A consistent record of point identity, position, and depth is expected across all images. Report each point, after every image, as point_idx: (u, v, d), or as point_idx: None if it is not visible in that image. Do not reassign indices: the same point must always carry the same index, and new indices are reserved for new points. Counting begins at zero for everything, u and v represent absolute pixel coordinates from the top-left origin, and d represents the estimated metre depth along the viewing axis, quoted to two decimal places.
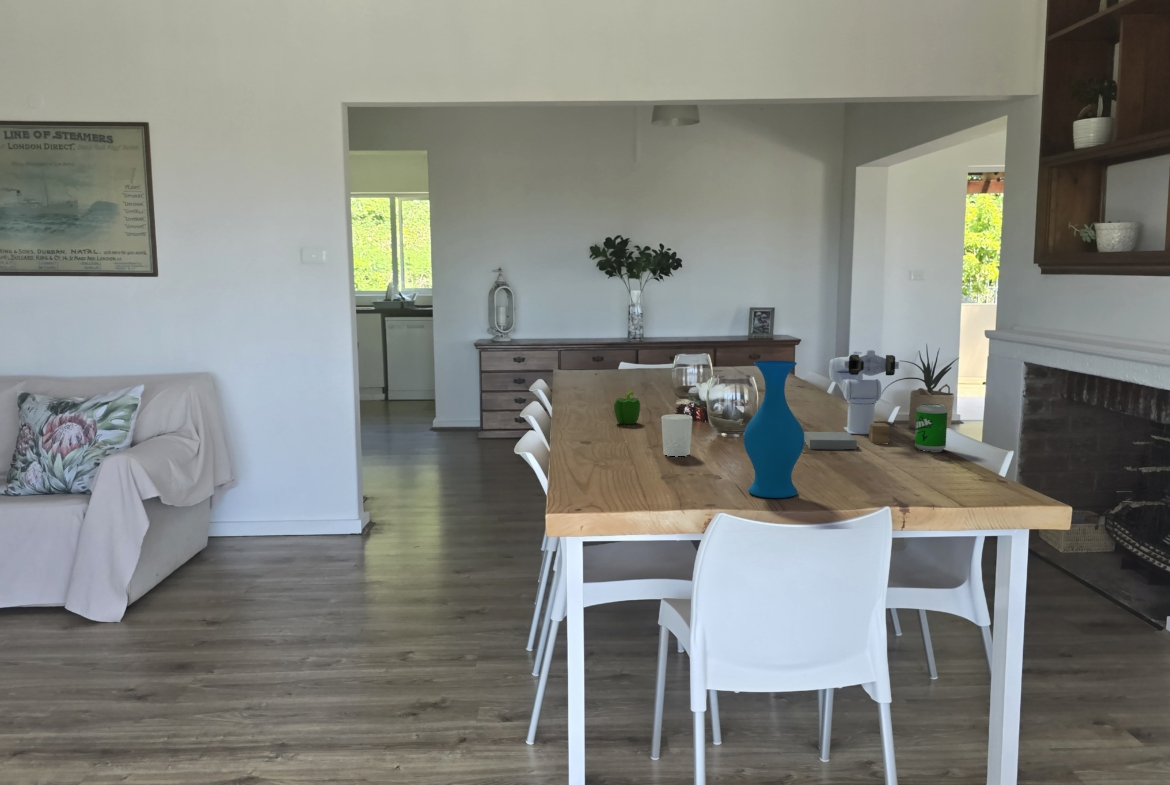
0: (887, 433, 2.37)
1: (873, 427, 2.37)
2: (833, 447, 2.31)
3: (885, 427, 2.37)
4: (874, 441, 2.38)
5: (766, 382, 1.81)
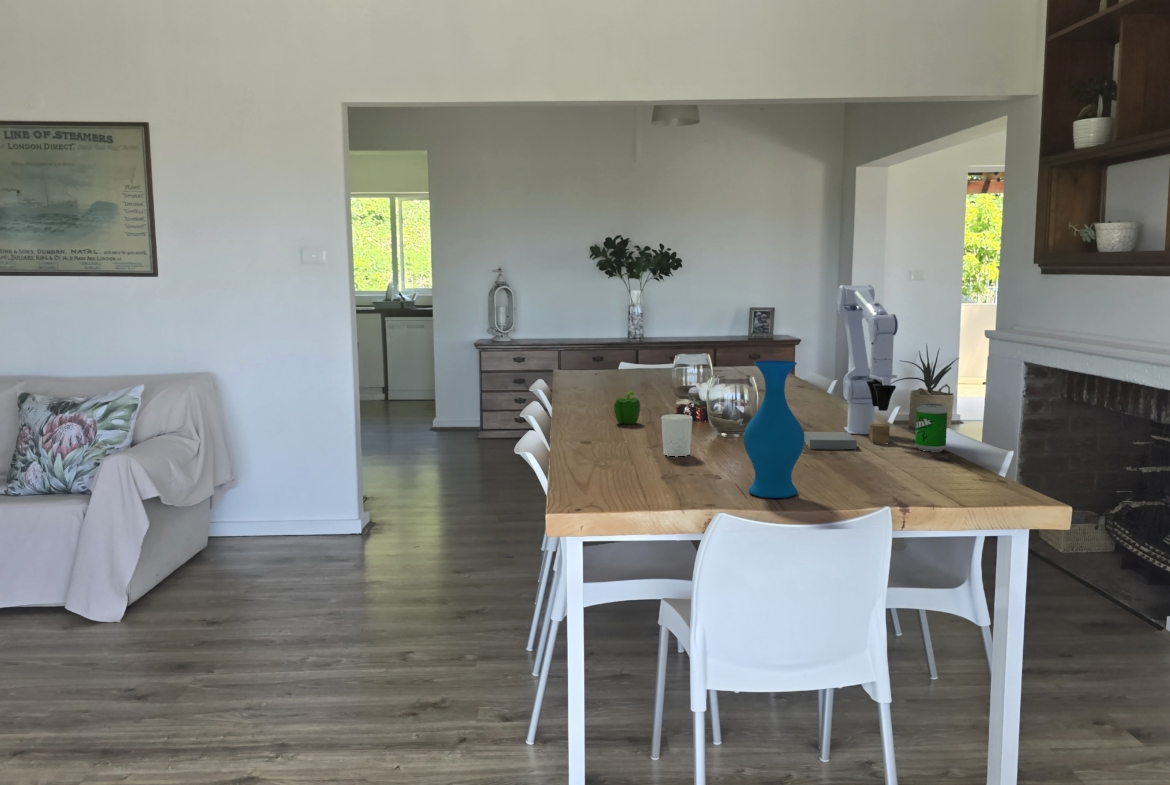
0: (887, 433, 2.37)
1: (873, 427, 2.37)
2: (833, 447, 2.31)
3: (885, 427, 2.37)
4: (874, 441, 2.38)
5: (766, 382, 1.81)
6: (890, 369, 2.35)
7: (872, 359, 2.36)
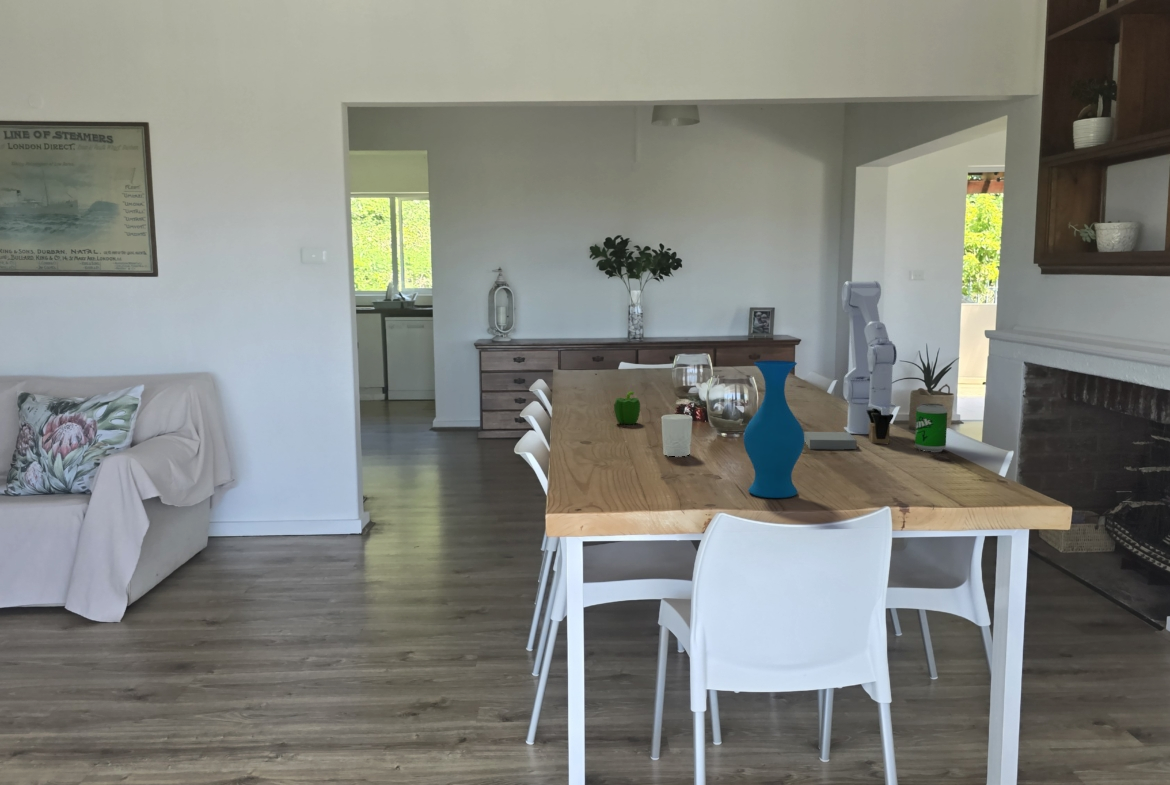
0: (887, 433, 2.37)
1: (873, 427, 2.37)
2: (833, 447, 2.31)
3: None
4: (874, 441, 2.38)
5: (766, 382, 1.81)
6: (889, 398, 2.36)
7: (871, 388, 2.37)
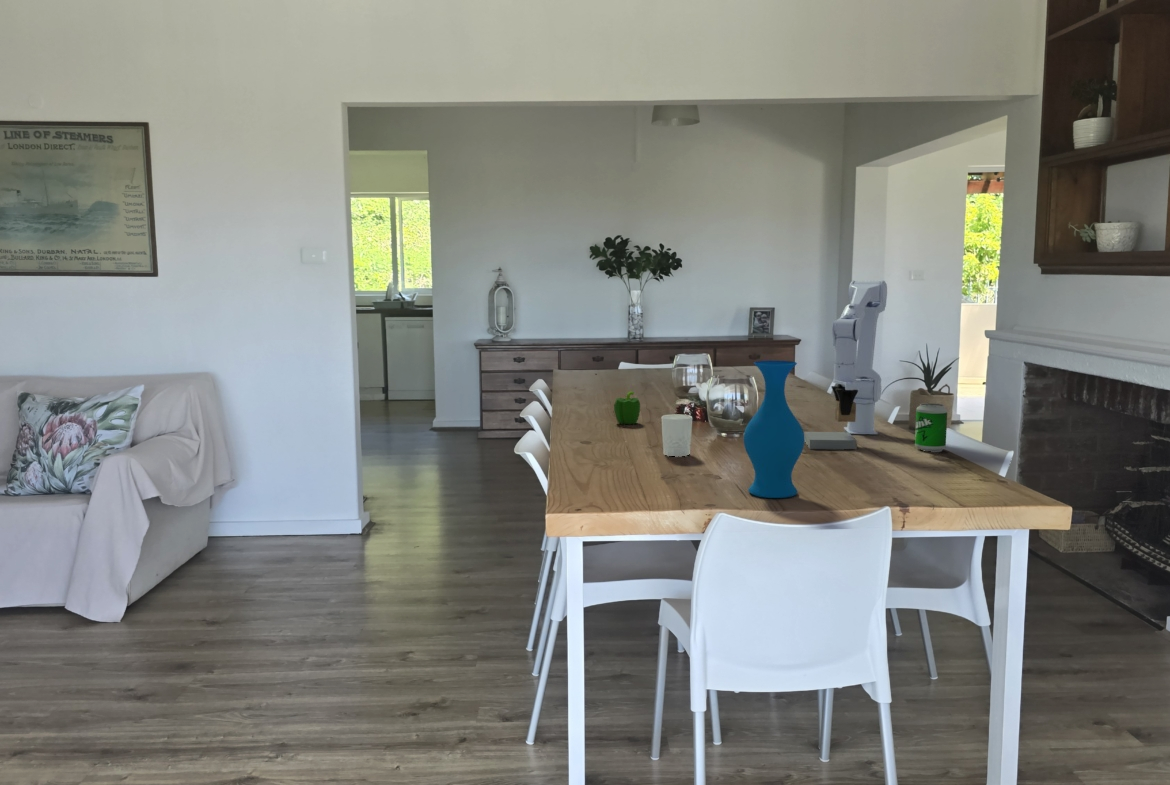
0: (853, 410, 2.34)
1: (839, 404, 2.34)
2: (833, 447, 2.31)
3: None
4: (840, 419, 2.34)
5: (766, 382, 1.81)
6: (853, 374, 2.33)
7: (835, 363, 2.34)
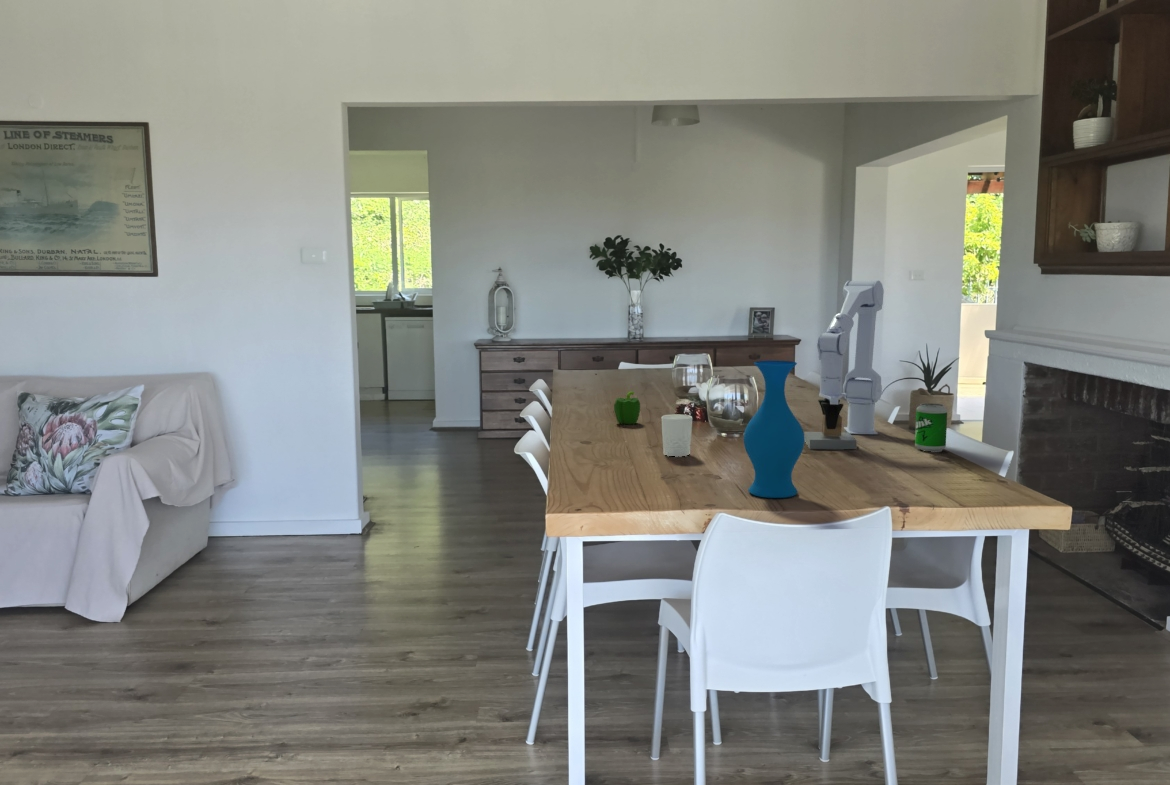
0: (839, 424, 2.33)
1: None
2: (833, 447, 2.31)
3: None
4: (826, 433, 2.34)
5: (766, 382, 1.81)
6: (839, 388, 2.32)
7: (821, 377, 2.34)
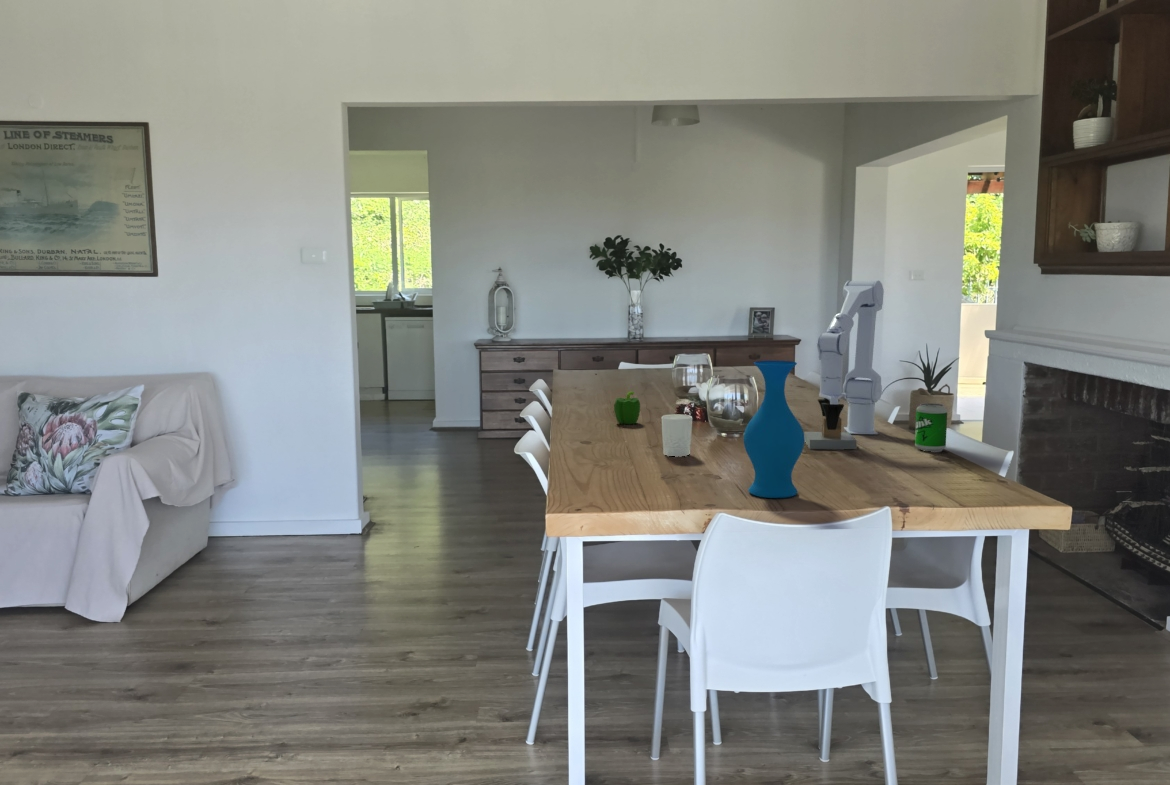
0: (839, 426, 2.34)
1: (825, 420, 2.34)
2: (833, 447, 2.31)
3: None
4: (826, 434, 2.34)
5: (766, 382, 1.81)
6: (839, 388, 2.32)
7: (821, 377, 2.34)
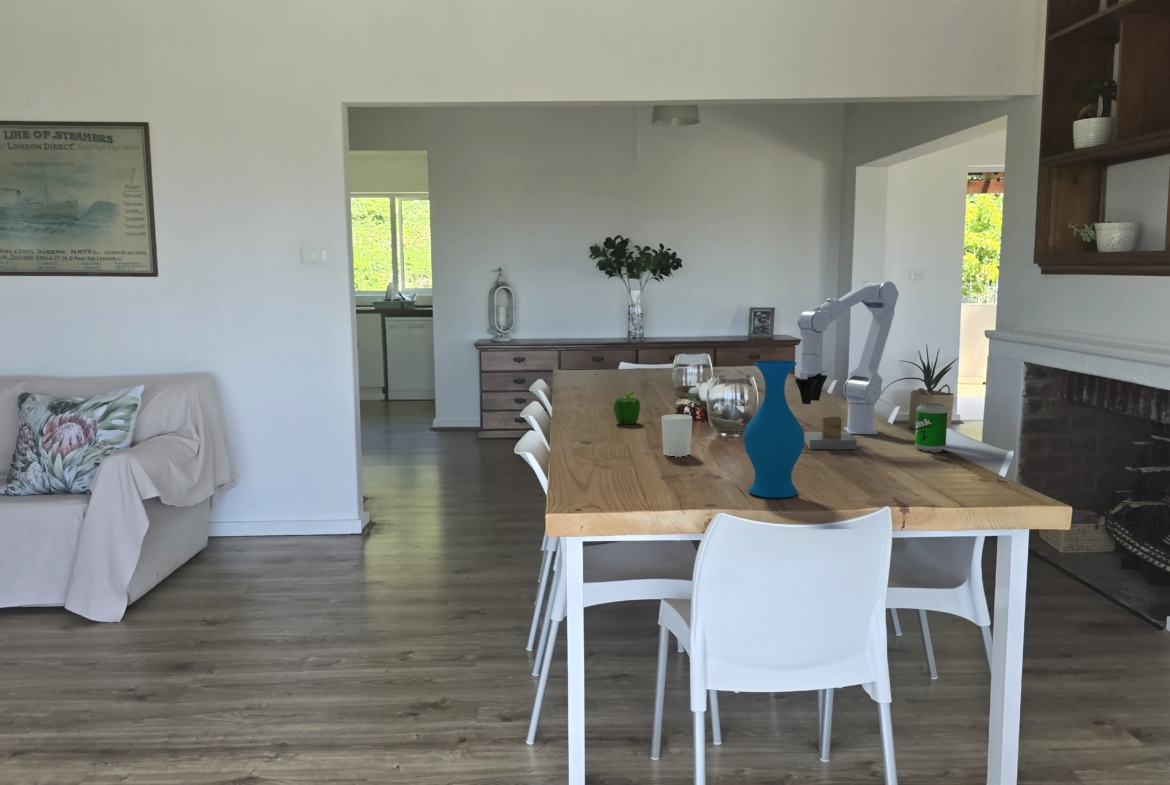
0: (839, 426, 2.34)
1: (825, 420, 2.34)
2: (833, 447, 2.31)
3: (837, 420, 2.33)
4: (826, 434, 2.34)
5: (766, 382, 1.81)
6: (816, 364, 2.40)
7: None
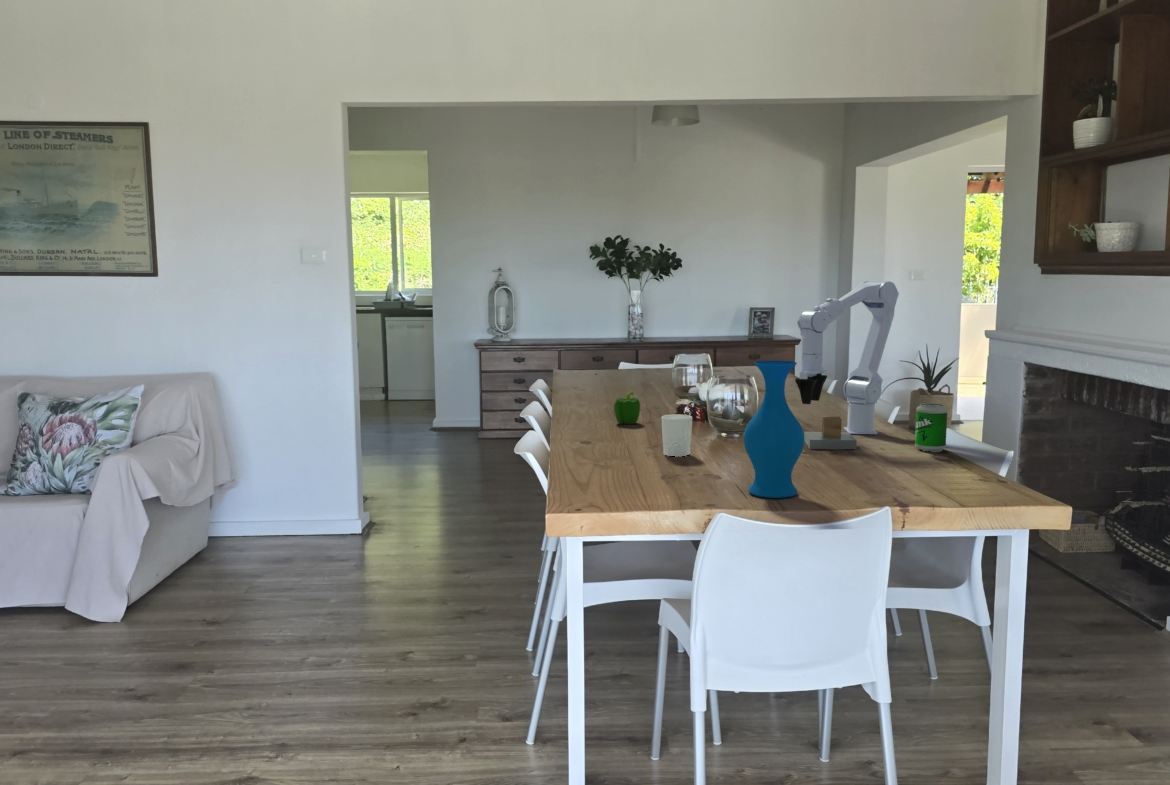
0: (839, 426, 2.34)
1: (825, 420, 2.34)
2: (833, 447, 2.31)
3: (837, 420, 2.33)
4: (826, 434, 2.34)
5: (766, 382, 1.81)
6: (816, 364, 2.41)
7: (801, 354, 2.43)
